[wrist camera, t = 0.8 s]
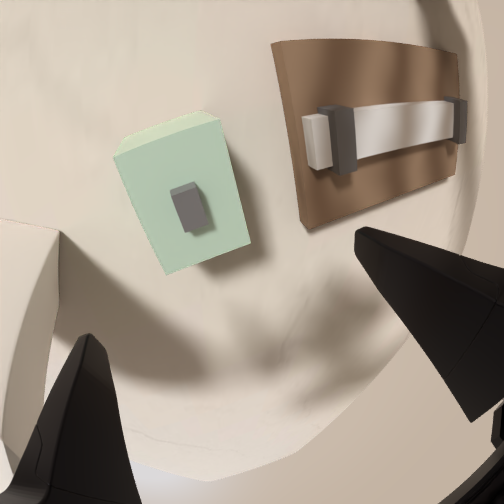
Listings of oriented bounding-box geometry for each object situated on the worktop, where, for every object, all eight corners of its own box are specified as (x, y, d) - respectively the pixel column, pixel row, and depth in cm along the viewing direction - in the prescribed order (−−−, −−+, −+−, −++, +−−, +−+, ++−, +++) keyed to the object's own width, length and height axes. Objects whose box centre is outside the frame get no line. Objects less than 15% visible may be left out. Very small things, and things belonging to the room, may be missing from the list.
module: (200, 110, 16) (224, 120, 11) (226, 204, 20) (255, 251, 15) (124, 137, 15) (110, 161, 10) (160, 229, 19) (167, 284, 14)
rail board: (445, 52, 17) (472, 56, 14) (445, 169, 26) (467, 181, 23) (270, 43, 14) (295, 37, 11) (300, 220, 23) (322, 242, 20)
